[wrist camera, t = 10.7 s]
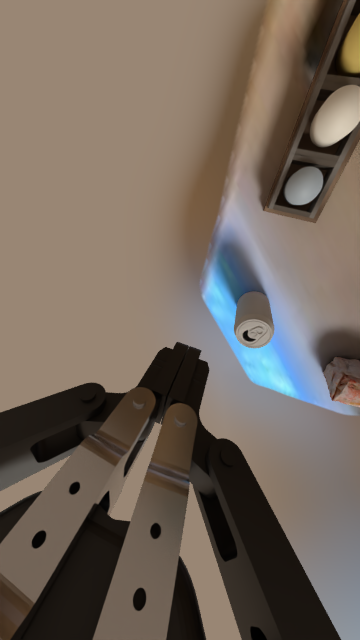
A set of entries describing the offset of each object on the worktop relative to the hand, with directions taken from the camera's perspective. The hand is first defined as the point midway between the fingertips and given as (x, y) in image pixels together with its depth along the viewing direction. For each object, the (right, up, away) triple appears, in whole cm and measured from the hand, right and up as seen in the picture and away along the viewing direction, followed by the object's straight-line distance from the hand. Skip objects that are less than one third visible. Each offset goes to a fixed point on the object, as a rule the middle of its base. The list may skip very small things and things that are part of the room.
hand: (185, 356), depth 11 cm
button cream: (+18, +26, +12) cm, 33 cm away
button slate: (+17, +21, +17) cm, 32 cm away
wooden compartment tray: (+19, +28, +15) cm, 37 cm away
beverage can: (+15, +6, +30) cm, 34 cm away
